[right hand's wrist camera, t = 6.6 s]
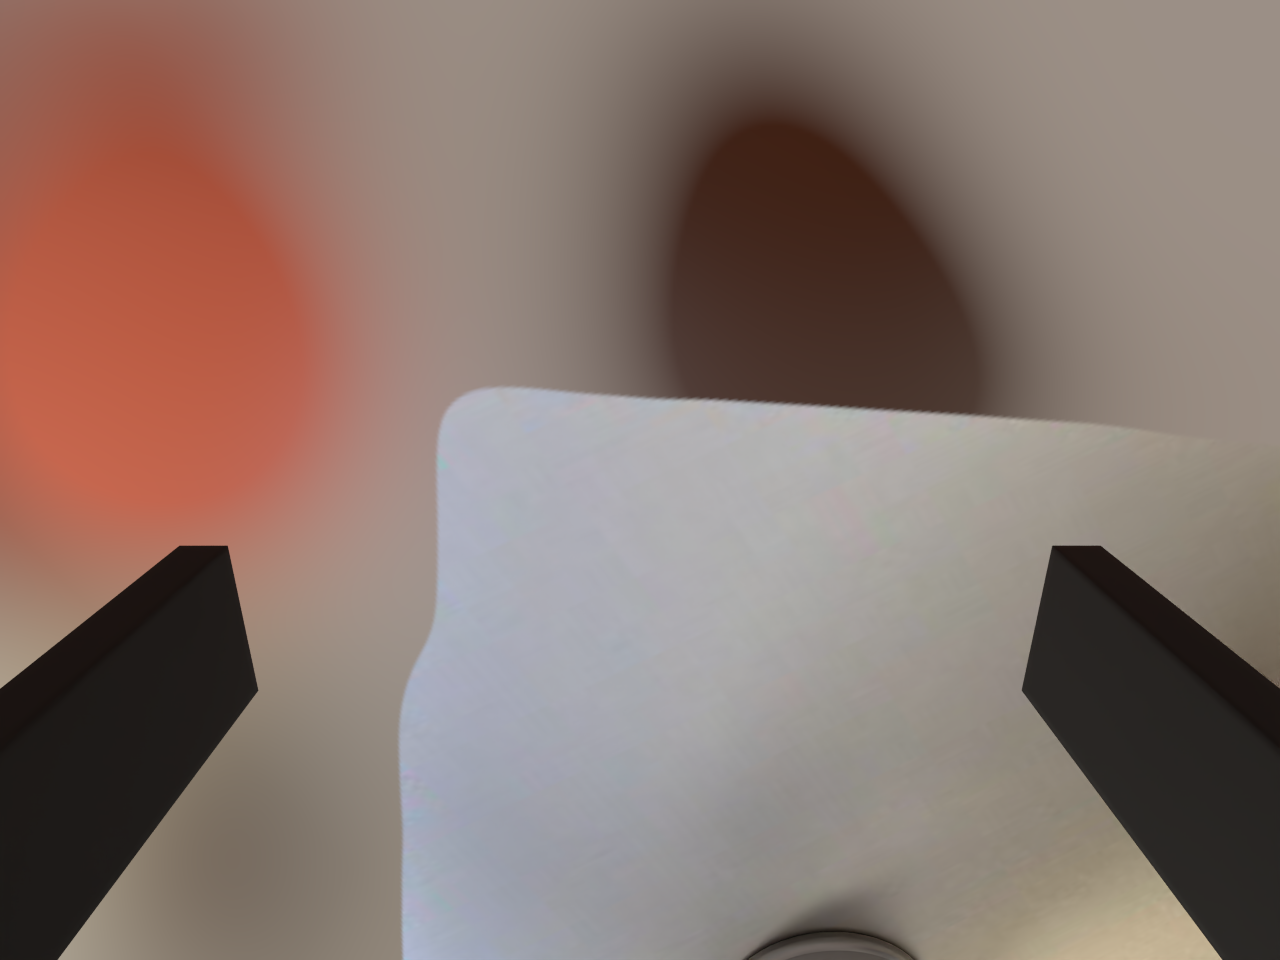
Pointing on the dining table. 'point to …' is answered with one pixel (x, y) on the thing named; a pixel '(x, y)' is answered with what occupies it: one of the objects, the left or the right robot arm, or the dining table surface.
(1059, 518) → the dining table surface
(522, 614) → the dining table surface
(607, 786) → the dining table surface
